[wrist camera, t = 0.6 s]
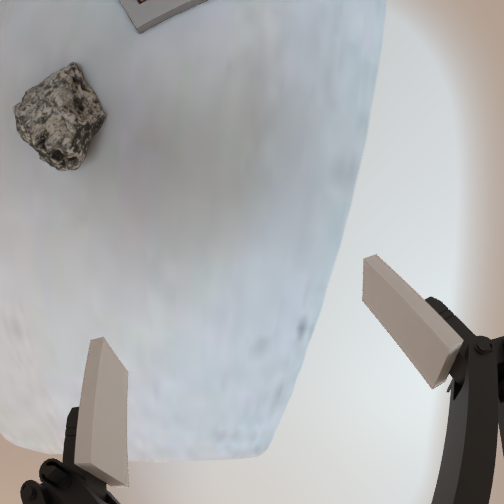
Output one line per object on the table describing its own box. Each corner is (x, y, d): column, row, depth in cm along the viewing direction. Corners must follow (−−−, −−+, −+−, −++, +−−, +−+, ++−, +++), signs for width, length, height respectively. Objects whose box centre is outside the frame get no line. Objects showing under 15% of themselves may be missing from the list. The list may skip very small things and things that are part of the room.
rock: (136, 133, 33) (126, 80, 23) (81, 196, 31) (50, 156, 21) (71, 91, 32) (52, 41, 23) (21, 143, 30) (-12, 102, 20)
